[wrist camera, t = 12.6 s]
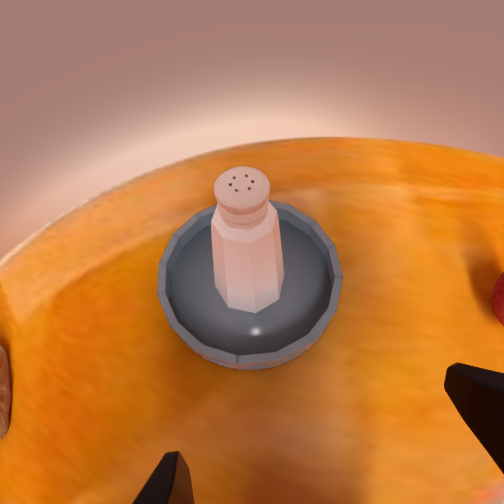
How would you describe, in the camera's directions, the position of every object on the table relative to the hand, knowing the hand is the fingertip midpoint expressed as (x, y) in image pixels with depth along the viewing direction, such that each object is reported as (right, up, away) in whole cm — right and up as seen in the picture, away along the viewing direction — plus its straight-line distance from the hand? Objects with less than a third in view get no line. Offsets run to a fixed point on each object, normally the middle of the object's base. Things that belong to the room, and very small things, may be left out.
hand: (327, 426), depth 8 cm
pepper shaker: (-2, +3, +17) cm, 17 cm away
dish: (-2, +3, +17) cm, 18 cm away
